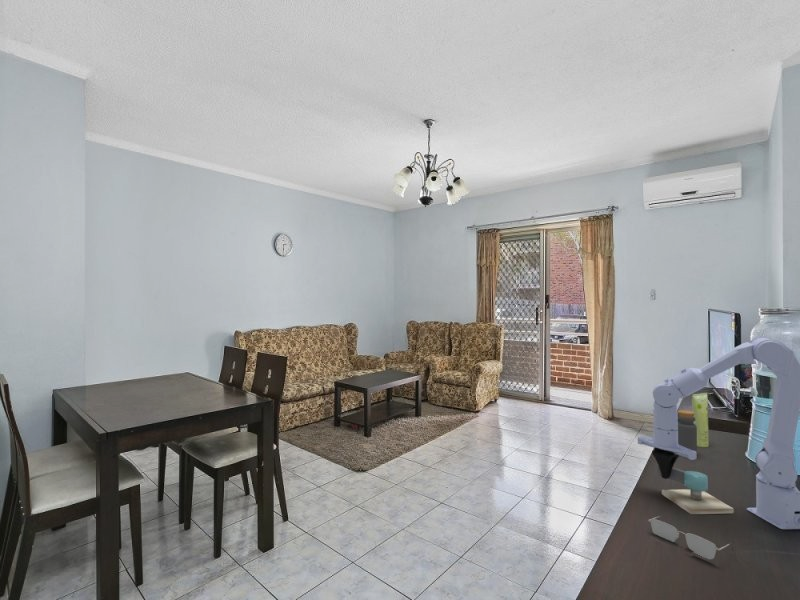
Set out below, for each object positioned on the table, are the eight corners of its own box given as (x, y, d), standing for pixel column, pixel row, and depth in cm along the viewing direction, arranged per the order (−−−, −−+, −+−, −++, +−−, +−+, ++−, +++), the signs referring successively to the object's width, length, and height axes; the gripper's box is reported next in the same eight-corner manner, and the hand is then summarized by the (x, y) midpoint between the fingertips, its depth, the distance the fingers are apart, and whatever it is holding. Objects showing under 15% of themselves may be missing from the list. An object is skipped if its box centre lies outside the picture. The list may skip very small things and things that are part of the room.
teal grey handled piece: (711, 488, 109) (710, 475, 109) (702, 492, 107) (702, 480, 107) (663, 473, 119) (663, 461, 119) (655, 477, 116) (654, 465, 116)
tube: (710, 450, 150) (709, 395, 150) (692, 447, 152) (692, 394, 152) (707, 445, 154) (707, 392, 155) (691, 443, 157) (690, 391, 157)
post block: (733, 513, 105) (733, 496, 105) (691, 514, 104) (691, 497, 104) (700, 493, 116) (700, 478, 116) (661, 494, 115) (661, 479, 115)
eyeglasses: (647, 533, 97) (647, 515, 97) (665, 522, 101) (664, 506, 101) (719, 564, 85) (719, 544, 85) (735, 551, 89) (735, 532, 89)
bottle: (679, 457, 143) (679, 413, 143) (674, 451, 149) (673, 409, 149) (699, 458, 141) (699, 414, 141) (693, 452, 147) (692, 410, 147)
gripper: (702, 432, 110) (703, 484, 110) (647, 419, 123) (647, 465, 123) (688, 436, 107) (688, 490, 107) (633, 422, 119) (633, 470, 119)
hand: (665, 477), depth 114 cm, fingers closed, pressing on teal grey handled piece
